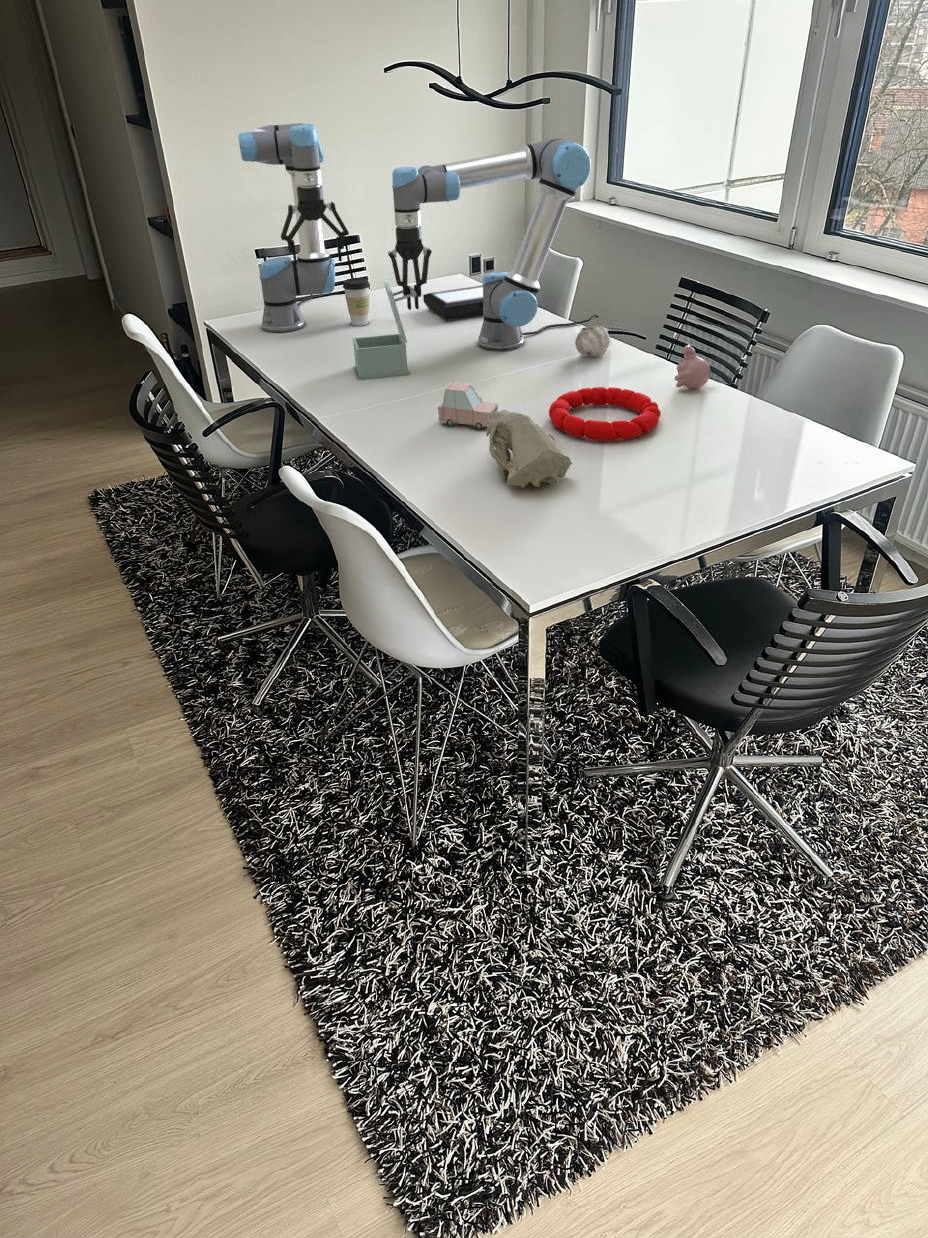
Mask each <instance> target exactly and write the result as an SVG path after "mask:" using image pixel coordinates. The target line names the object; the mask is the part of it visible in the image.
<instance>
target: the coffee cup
mask: <svg viewBox="0 0 928 1238" xmlns="http://www.w3.org/2000/svg"><path fill="white" fill-rule="evenodd" d="M370 287H371V283H370V282H369V279H367V278H365V277H351V278H347V279H345V280H344V281H343V285H342V288H343V290H344V297H345V301H346V305H347V310H348V314H349V318H350V323H351V325H353V326H357V327H359V326H365V325H368V324H369V317H370V316H369V313H370Z"/></svg>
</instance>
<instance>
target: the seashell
mask: <svg viewBox="0 0 928 1238" xmlns="http://www.w3.org/2000/svg"><path fill="white" fill-rule="evenodd" d="M610 337H611V336H610V334H609V332H608V331H607V329H606V328H605V327H604V325H597V324H596V325H595V324H587V326H586V327H585V326H584V327H582V328H581V329H580V330H579V332H578V333H577V335H576V337H575V341H574V344H575V347H576V350H577V352H578V353H579V354H580V355H581V356H583V357H586V358H587V357H591V356H592V357H601V356H603V355H604V354H605V353H606V352H607V351H608V350H607V349H608V348H609V346H610V343H611V338H610Z"/></svg>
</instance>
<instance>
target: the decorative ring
mask: <svg viewBox="0 0 928 1238" xmlns="http://www.w3.org/2000/svg"><path fill="white" fill-rule="evenodd" d="M583 405H584V406H586V407H587V406H591V405H593V406H604V405H608V406H614V407H619V408H624V409H628V410H632V411H635V412H636V413H638V414H639V415H637V416H635V417H632V418H631V419H630V420H625V419H624V420H623V419H622V420H614V421H611V422H609V421H607V420H606V421H605V420H593V419H587V420H586V421H585V419H584V418H582V417H579V416H577V415H573V414H571V413H570V410H571V409H579V408H581V407H582V406H583ZM548 416H549V419H550V422H551V423H552V425H553V426H554V427H555V428H556V429H558V430H559V431H561V432H563V433H567V434H568V435H569V436H573V437H576V438H580V439H582V438H583V437H585V438H586V439H587V440H591V441H601V442H602V441H603V442H608V441H609V442H610V441H611V442H612V441H615V442H616V441H618V440H630V439H634V438H638V437H641V436H642V434H647V433H650V432H651V431H653V430H654V429H655V428H656V427H657V426H658V424H659V422H660V421H659V420H660V417H661V410H660V408H659V405H658V403H657V402H656V401H652V399H651V397H649V396H648V395H646V394H644V393H642V392H635V391H634V390H632V389H628V388H624V389H622V388H620V387H613V386H612V387H611V386H610V387H608V388H606V387H604V386H594V387H585V388H584V387H583V388H580V389H578V390H571V391H568V392H565V393H563V394H561V395H560V396H558V397H557V398H556V400H554V401H552V403H551V404H550V407H549V409H548Z"/></svg>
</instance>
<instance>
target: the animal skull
mask: <svg viewBox="0 0 928 1238" xmlns="http://www.w3.org/2000/svg"><path fill="white" fill-rule="evenodd" d="M485 436H486V438H487V437H489V438H488V440H489V444H488V445H489V446H488V450H489V454H490V456H491V457H492V458H493V459H494V460H495V462H496V464H497V466H499V468H500V470H501V471H502V472H501V478H502V479H507V480H506V484H507V486H517V487H518V486H519V488H523V489H524V488H526V486H527V485H529V483H531V485H533V486H534V487H536V488H540V485H541V484H542V482H544V483H549V484H550V485H553V484H555V483H556V482H557V480H561V479H563V478H565V476H566V474H567V472H568V471H569V469H570V467H571V466H572V464H573V462H572V461H571V458H570V457H568V456H567V455H565V453H564V451H562V449H561V448H560V446H559V444H557V443H556V439H555V438H554V436H553V435H551V434H550V433H548V432H547V431H546V430H545V429H544V428H542V427H541V426H539V425H538V424H537V423H536V424H535V422H534V421H533V419H532V418H531V417H530V416H529V415H527V414H524V413H519V412H515V411H509V410H507V409H502V410H500V411H499V410H497V411H496V412H492V413H491V414H490V422H488V423H487V427H486V435H485ZM511 453H512V454H511ZM511 455H512V457H513V458H512V460H511ZM507 474H508V475H507Z"/></svg>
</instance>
